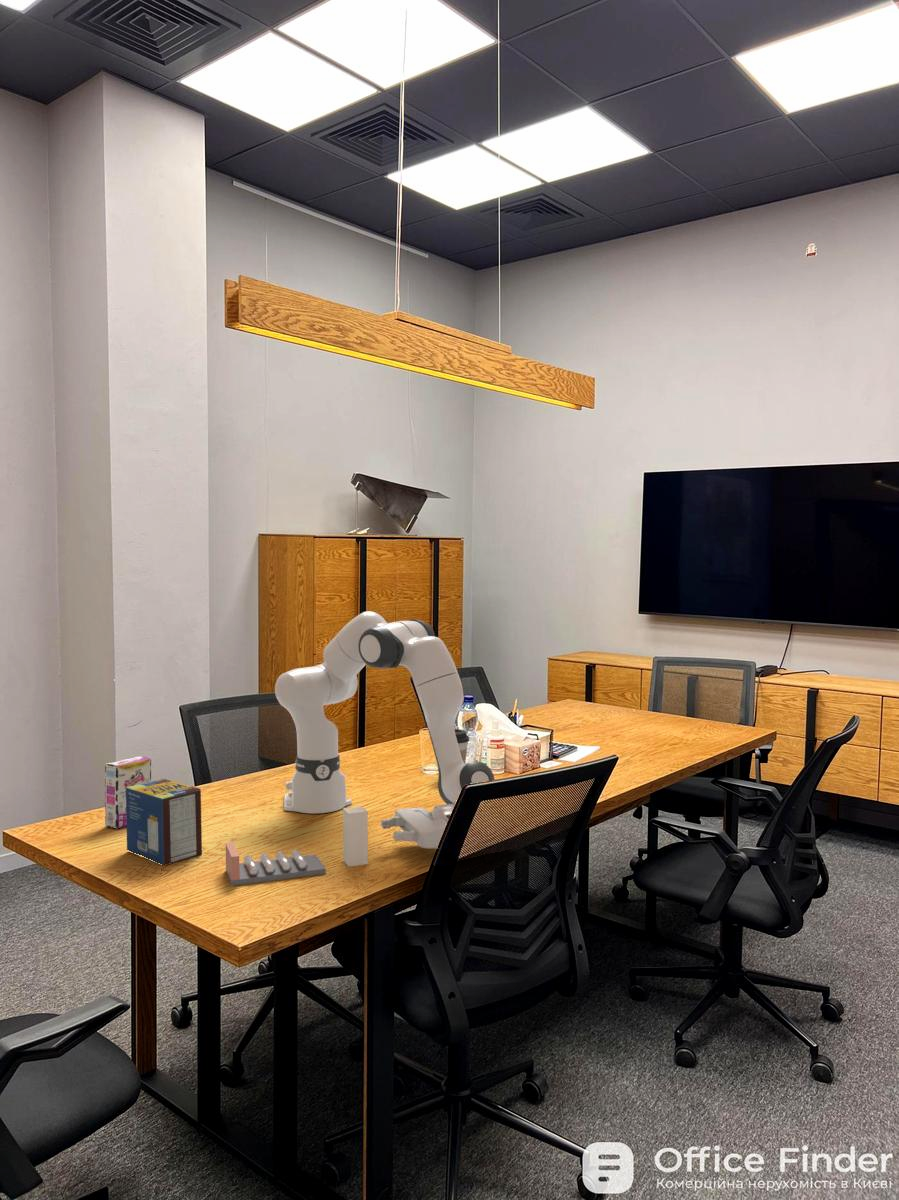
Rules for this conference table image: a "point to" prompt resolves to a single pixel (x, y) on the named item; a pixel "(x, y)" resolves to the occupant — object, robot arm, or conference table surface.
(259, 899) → the conference table surface
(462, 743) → the coffee cup
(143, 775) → the candy bar box
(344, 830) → the wooden block
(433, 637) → the robot arm
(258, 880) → the roller track
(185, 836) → the protein box
